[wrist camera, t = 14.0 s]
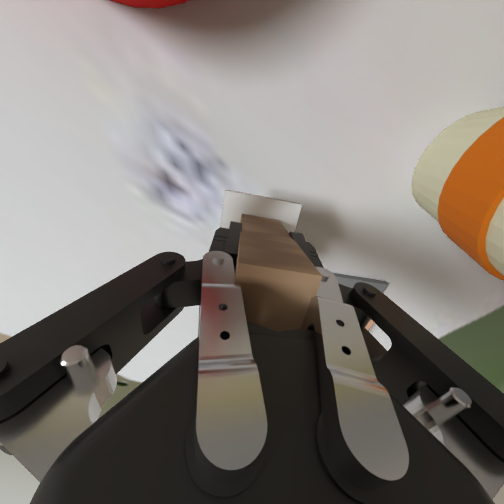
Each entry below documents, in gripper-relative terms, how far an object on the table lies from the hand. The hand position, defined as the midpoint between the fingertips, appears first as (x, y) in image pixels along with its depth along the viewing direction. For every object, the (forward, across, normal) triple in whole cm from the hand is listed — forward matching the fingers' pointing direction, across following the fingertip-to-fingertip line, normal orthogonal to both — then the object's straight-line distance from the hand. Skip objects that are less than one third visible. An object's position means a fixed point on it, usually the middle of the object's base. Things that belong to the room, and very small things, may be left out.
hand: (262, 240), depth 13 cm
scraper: (+5, 0, +2) cm, 5 cm away
